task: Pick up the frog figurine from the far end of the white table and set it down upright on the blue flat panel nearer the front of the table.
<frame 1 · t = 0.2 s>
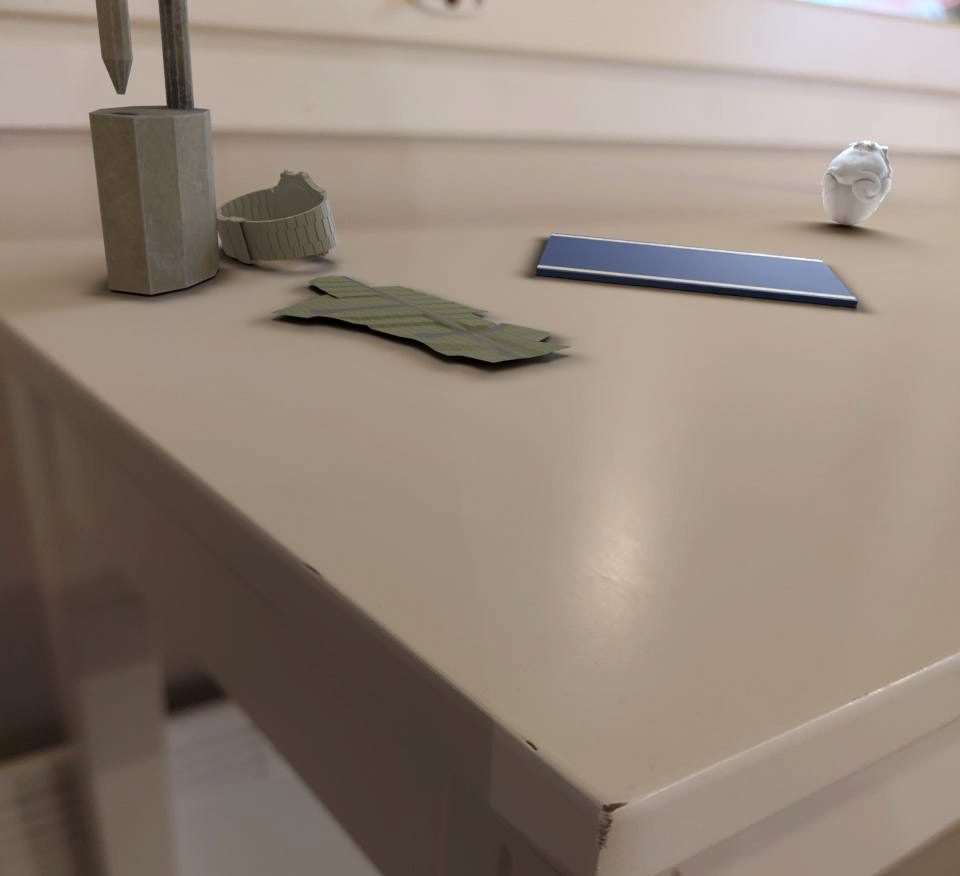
blue flat panel: (688, 269, 69), on the table
pencil holder: (168, 282, 56), on the table
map: (395, 322, 51), on the table
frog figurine: (845, 226, 93), on the table
wristwatch: (275, 261, 62), on the table
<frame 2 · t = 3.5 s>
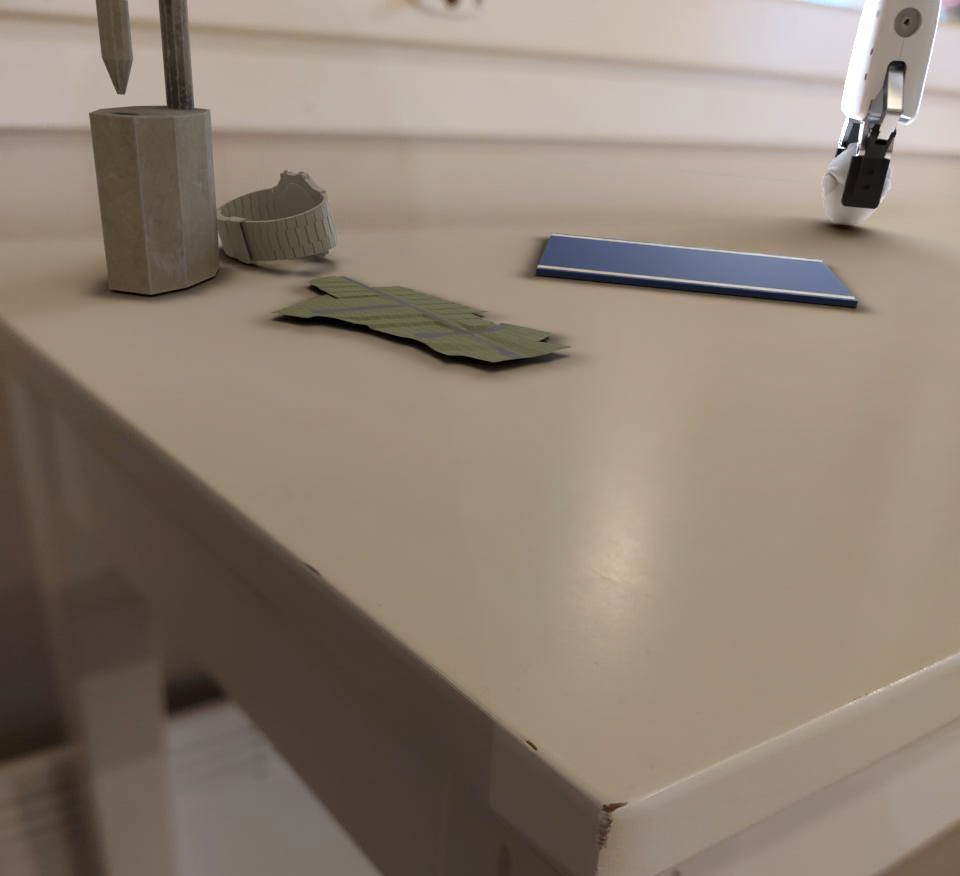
hand: (851, 199, 92), 2 cm above the table, tool pointing down, fingers closed on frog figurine, 6 cm apart
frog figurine: (845, 226, 93), on the table, touching gripper
everything else where it was.
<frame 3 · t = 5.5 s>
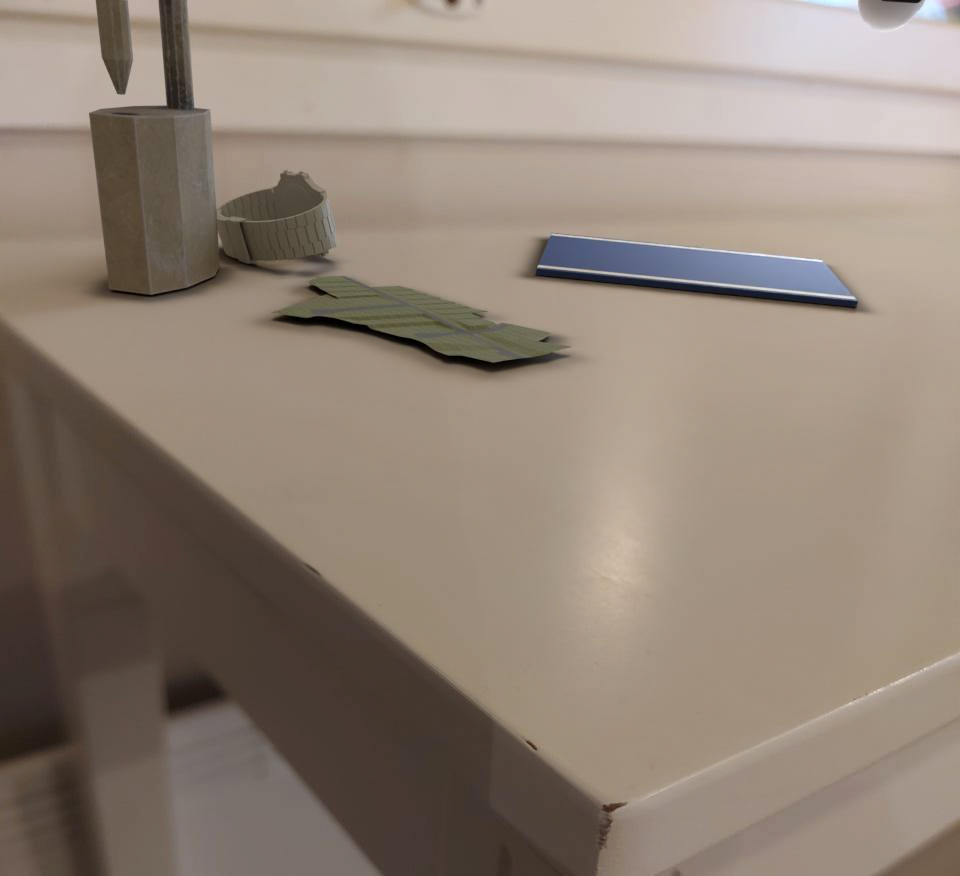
hand: (890, 1, 82), 17 cm above the table, tool pointing down, fingers closed on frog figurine, 6 cm apart
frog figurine: (883, 34, 83), point 15 cm above the table, touching gripper
everything else where it was.
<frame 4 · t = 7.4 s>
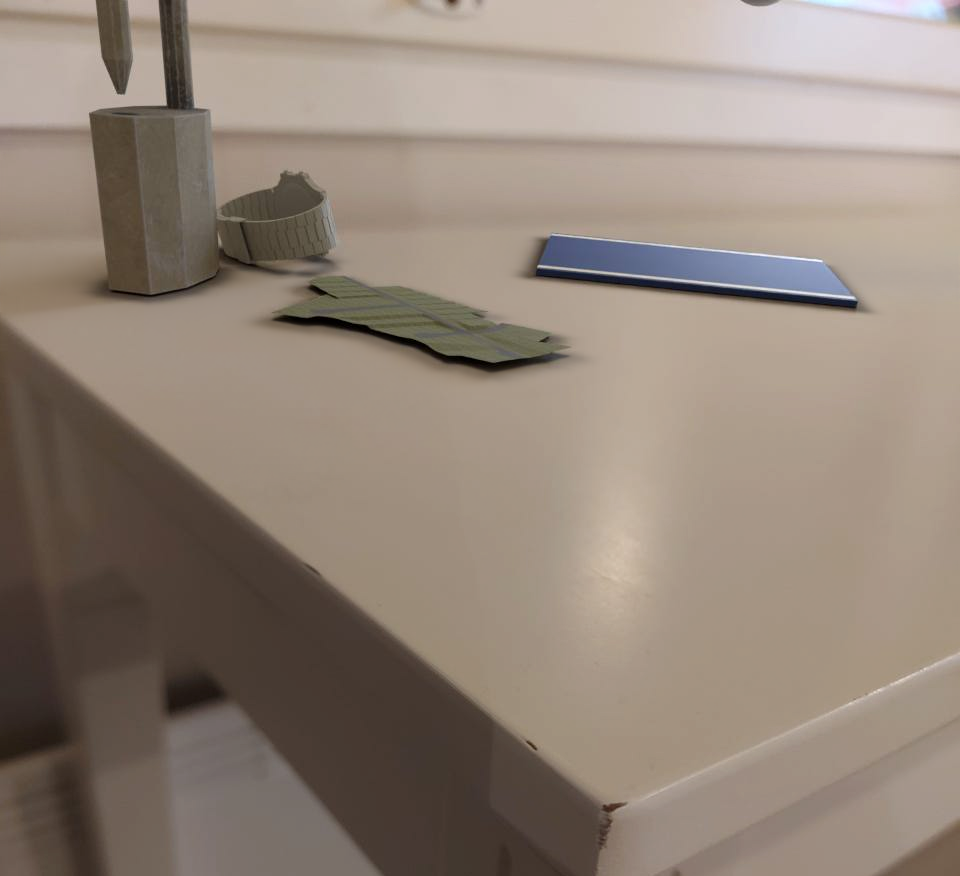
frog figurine: (759, 10, 63), point 15 cm above the table, touching gripper
everything else where it was.
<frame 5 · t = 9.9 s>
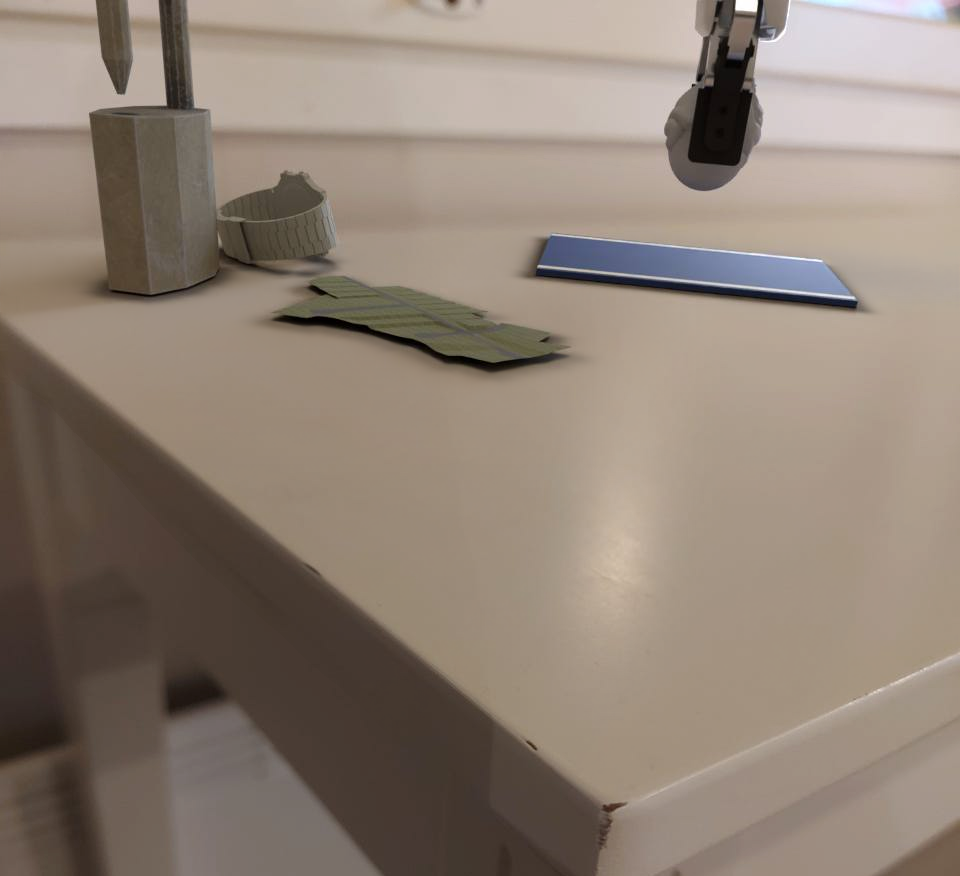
hand: (709, 155, 65), 7 cm above the table, tool pointing down, fingers closed on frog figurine, 6 cm apart
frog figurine: (702, 193, 66), point 5 cm above the table, touching gripper
everything else where it was.
when the fingers open (3 cm above the table, at t = 11.6 s): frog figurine stays where it is, resting on blue flat panel.
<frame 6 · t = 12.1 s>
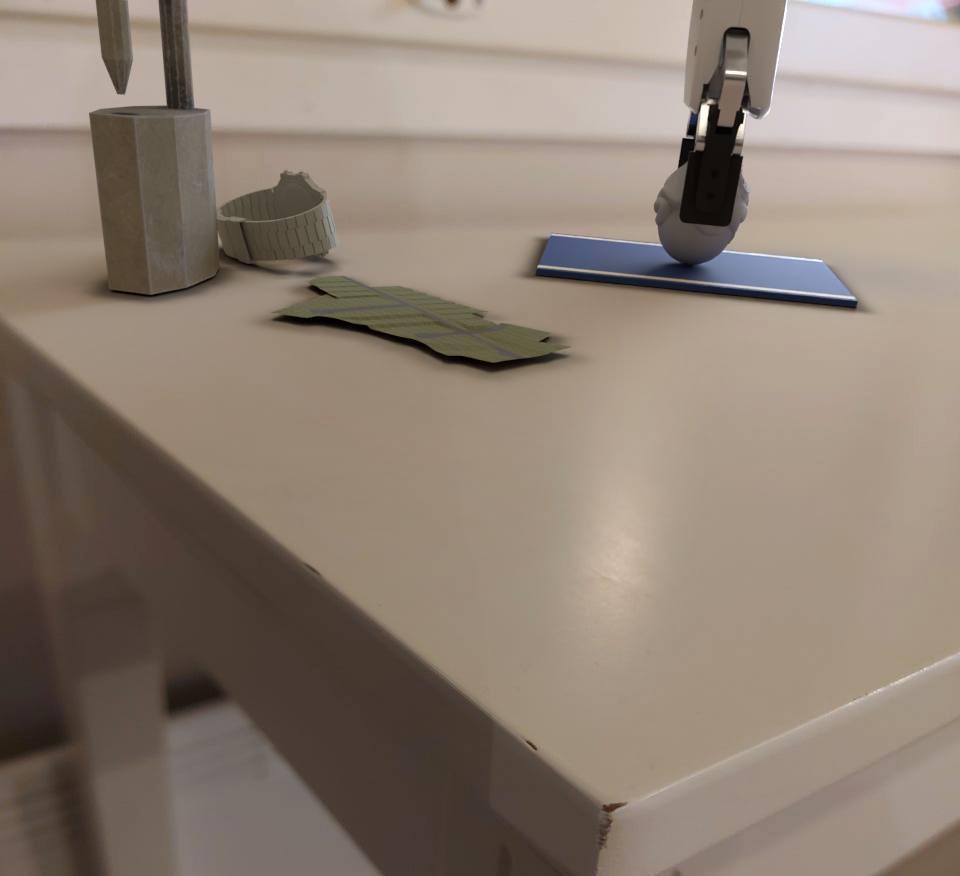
hand: (699, 212, 67), 4 cm above the table, tool pointing down, fingers open, 9 cm apart
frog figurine: (690, 266, 69), resting on blue flat panel
everything else where it was.
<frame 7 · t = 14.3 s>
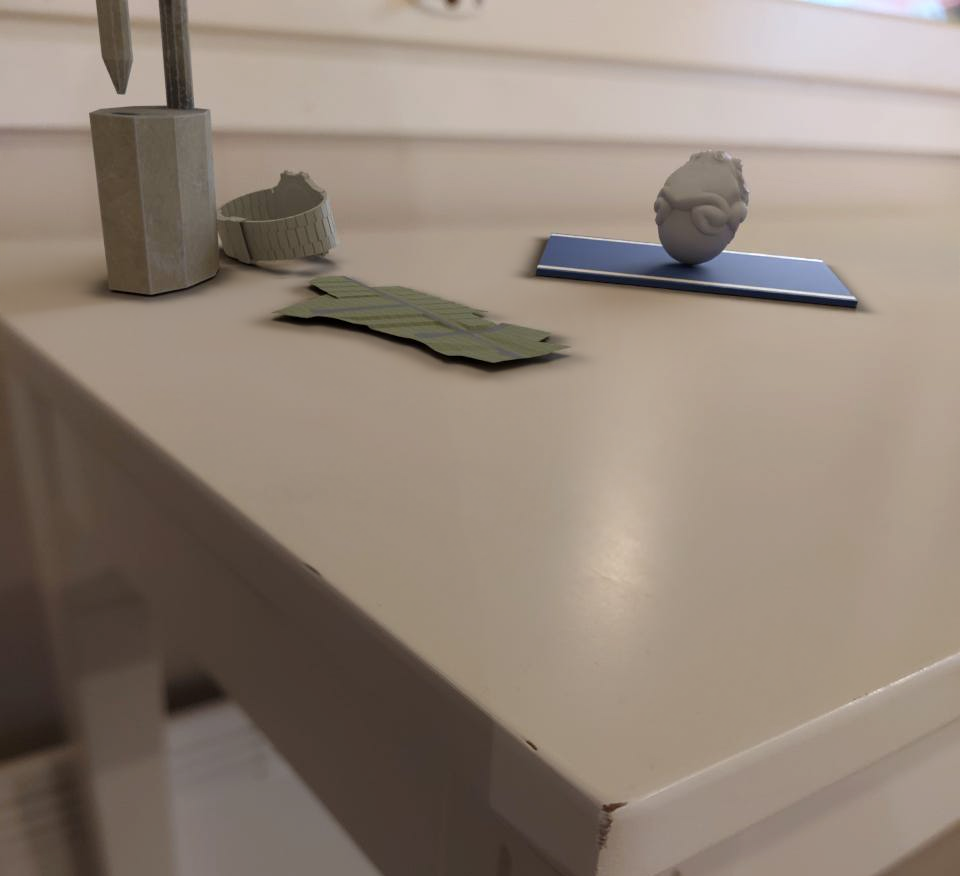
nothing on the table moved.
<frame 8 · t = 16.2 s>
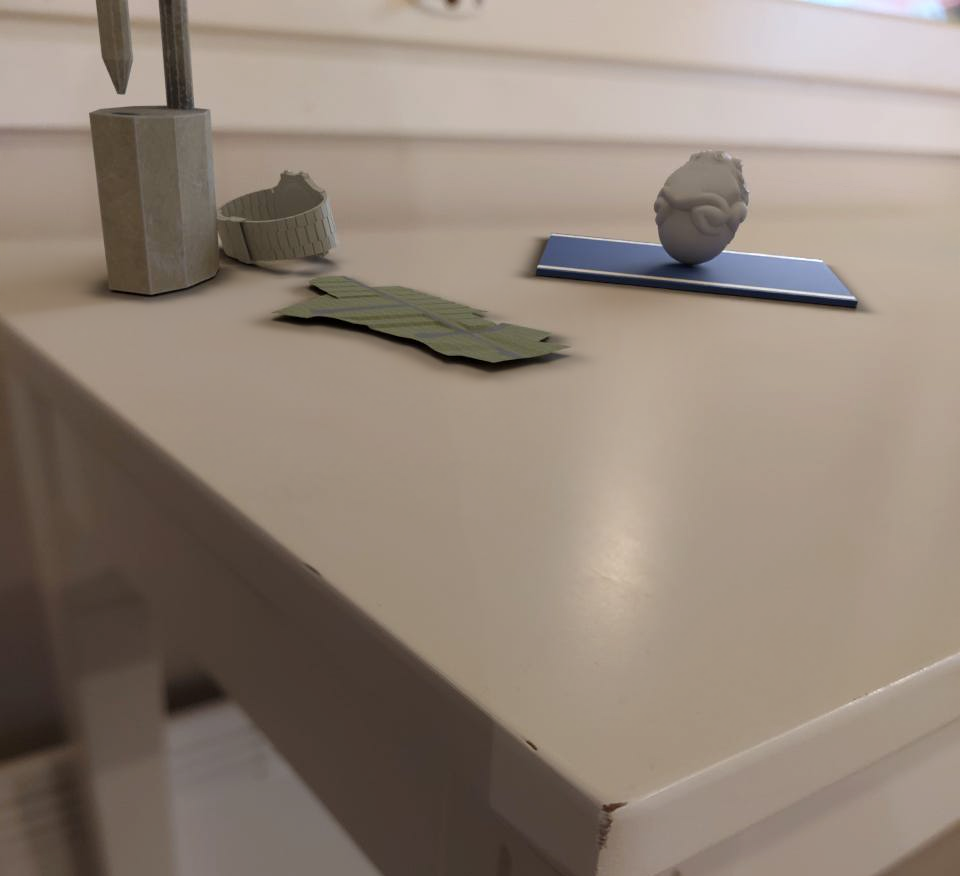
nothing on the table moved.
at the end: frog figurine inside the target area on the blue flat panel (0.1 cm from its centre), point 0.2 cm above the blue flat panel's base; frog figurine tilted 0°; the gripper is holding nothing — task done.
